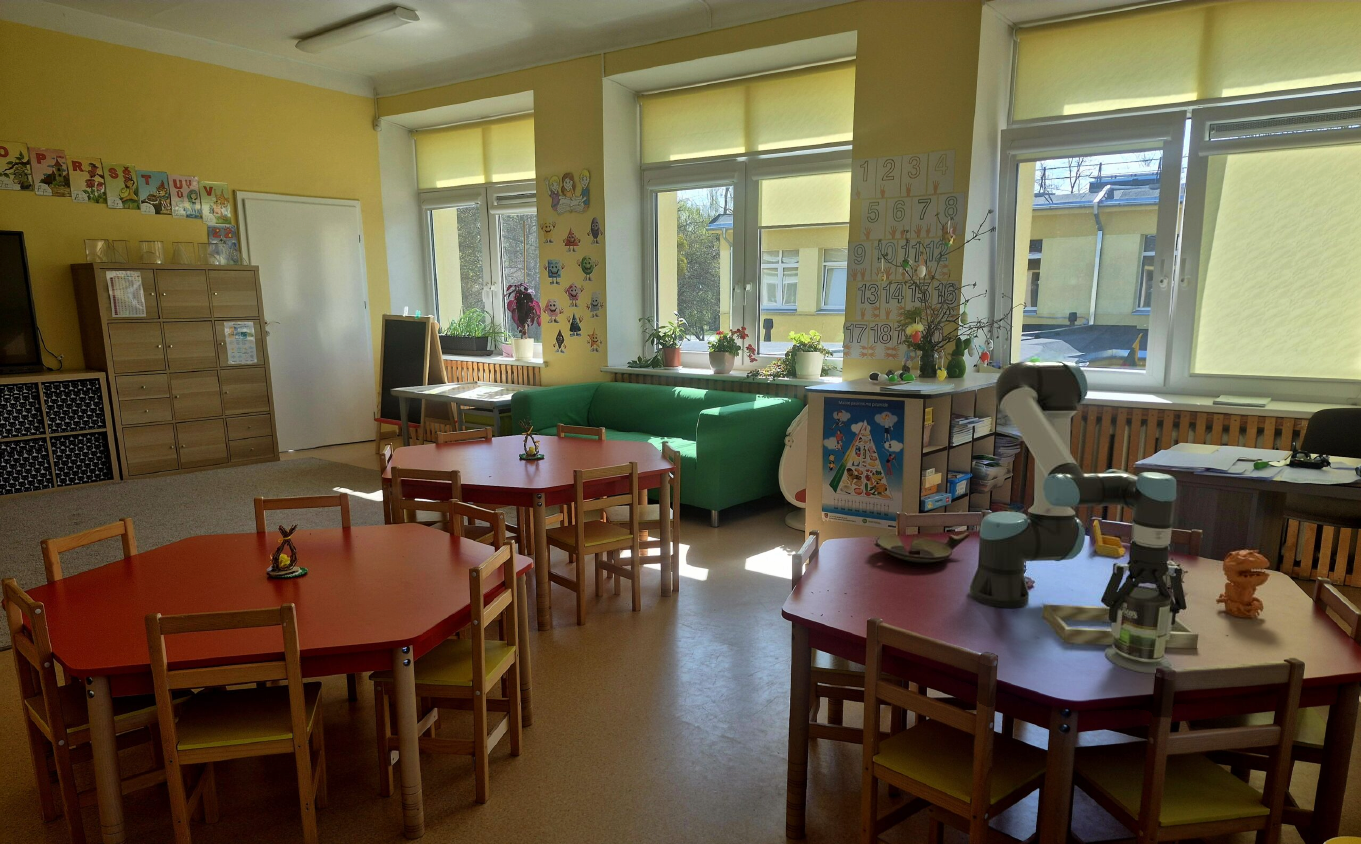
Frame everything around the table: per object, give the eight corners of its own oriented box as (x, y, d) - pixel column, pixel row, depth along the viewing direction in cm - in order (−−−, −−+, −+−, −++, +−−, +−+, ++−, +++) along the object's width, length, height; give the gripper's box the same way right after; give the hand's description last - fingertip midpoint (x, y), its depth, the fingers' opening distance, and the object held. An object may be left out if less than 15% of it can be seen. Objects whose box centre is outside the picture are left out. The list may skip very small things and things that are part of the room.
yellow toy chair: (1123, 558, 246) (1125, 530, 244) (1089, 553, 251) (1092, 525, 250) (1125, 549, 255) (1128, 522, 253) (1093, 544, 260) (1095, 518, 258)
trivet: (1121, 672, 171) (1121, 670, 171) (1095, 645, 184) (1095, 643, 184) (1182, 674, 170) (1183, 672, 170) (1152, 648, 183) (1152, 646, 183)
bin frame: (1065, 642, 186) (1066, 629, 185) (1041, 617, 200) (1042, 604, 200) (1196, 648, 183) (1198, 634, 183) (1163, 621, 198) (1164, 608, 197)
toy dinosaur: (1251, 625, 196) (1260, 557, 193) (1205, 609, 206) (1213, 544, 203) (1274, 617, 201) (1284, 550, 198) (1229, 602, 211) (1237, 538, 208)
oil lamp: (870, 545, 257) (871, 523, 256) (965, 550, 252) (966, 528, 251) (875, 568, 236) (877, 544, 234) (979, 575, 231) (981, 550, 229)
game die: (1174, 601, 221) (1197, 582, 214) (1144, 588, 222) (1166, 569, 215) (1171, 577, 227) (1193, 558, 220) (1142, 565, 228) (1163, 546, 221)
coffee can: (1131, 663, 171) (1138, 603, 169) (1102, 642, 182) (1108, 585, 179) (1175, 661, 172) (1182, 601, 170) (1144, 641, 182) (1150, 584, 180)
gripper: (1104, 546, 170) (1095, 641, 174) (1213, 549, 168) (1201, 645, 172) (1090, 535, 177) (1081, 627, 181) (1193, 538, 175) (1182, 631, 179)
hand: (1139, 636), depth 176 cm, fingers closed on coffee can, 10 cm apart
